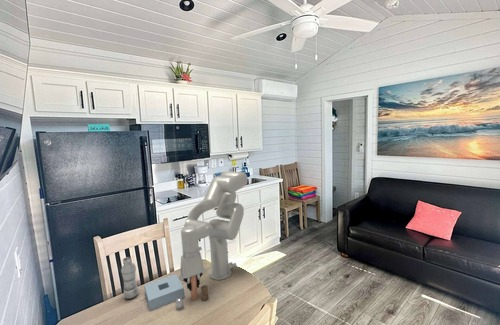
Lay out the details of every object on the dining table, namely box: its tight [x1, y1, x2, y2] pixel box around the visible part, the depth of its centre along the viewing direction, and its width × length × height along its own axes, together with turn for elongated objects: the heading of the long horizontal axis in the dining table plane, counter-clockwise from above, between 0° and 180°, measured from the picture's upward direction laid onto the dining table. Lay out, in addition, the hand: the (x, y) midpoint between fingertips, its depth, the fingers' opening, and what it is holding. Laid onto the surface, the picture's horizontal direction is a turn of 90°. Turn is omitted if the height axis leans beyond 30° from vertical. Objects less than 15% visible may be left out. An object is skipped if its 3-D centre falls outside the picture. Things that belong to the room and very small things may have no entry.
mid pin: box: [200, 284, 209, 302], centre depth 119 cm, size 3×3×6 cm
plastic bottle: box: [120, 256, 139, 300], centre depth 122 cm, size 6×7×20 cm
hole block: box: [143, 273, 186, 311], centre depth 123 cm, size 16×14×5 cm
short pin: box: [175, 297, 184, 311], centre depth 114 cm, size 3×3×4 cm
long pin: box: [190, 275, 199, 301], centre depth 120 cm, size 3×3×12 cm
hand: (193, 287), depth 120 cm, fingers closed on long pin, 3 cm apart
